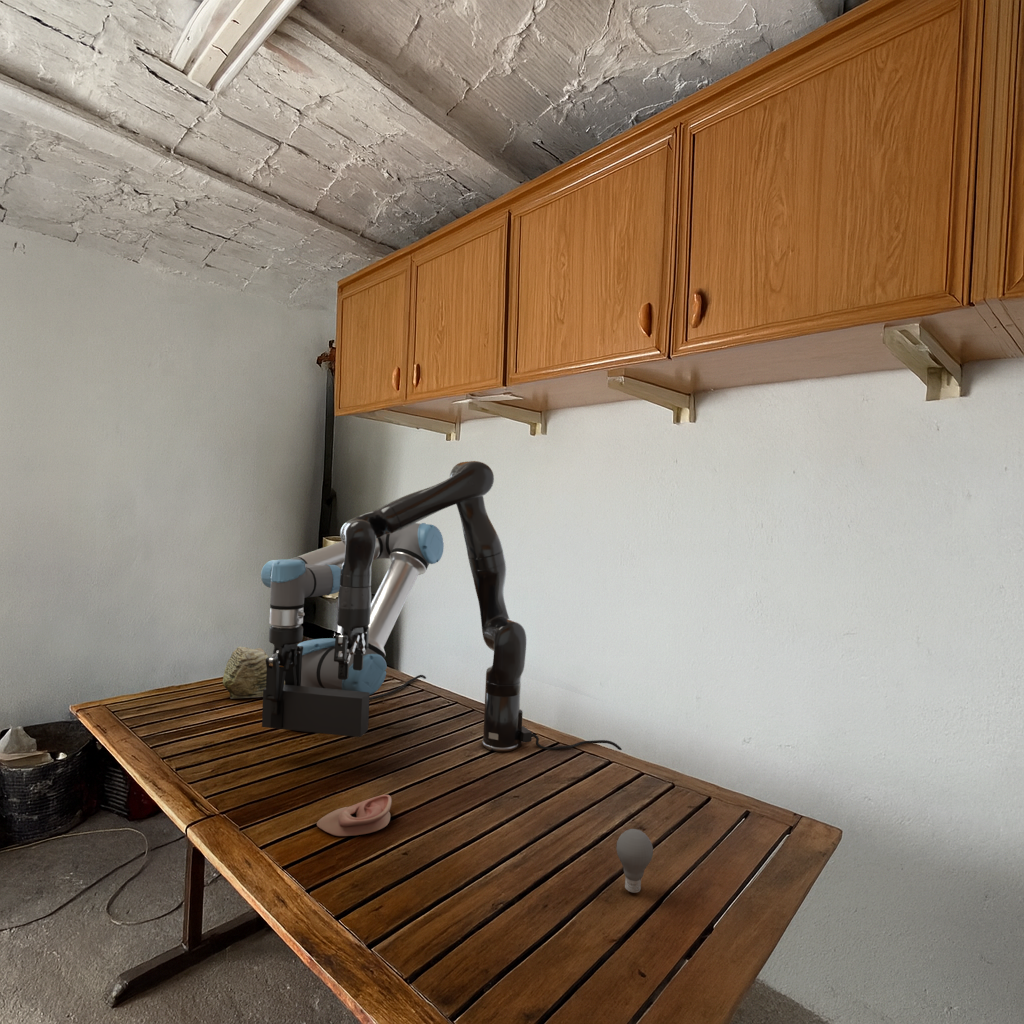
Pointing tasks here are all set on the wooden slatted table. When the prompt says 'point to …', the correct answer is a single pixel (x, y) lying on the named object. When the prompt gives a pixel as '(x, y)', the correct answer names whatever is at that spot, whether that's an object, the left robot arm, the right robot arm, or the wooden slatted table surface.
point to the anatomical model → (358, 817)
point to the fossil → (246, 673)
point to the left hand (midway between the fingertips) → (282, 723)
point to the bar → (321, 710)
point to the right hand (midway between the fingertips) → (350, 674)
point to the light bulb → (634, 857)
